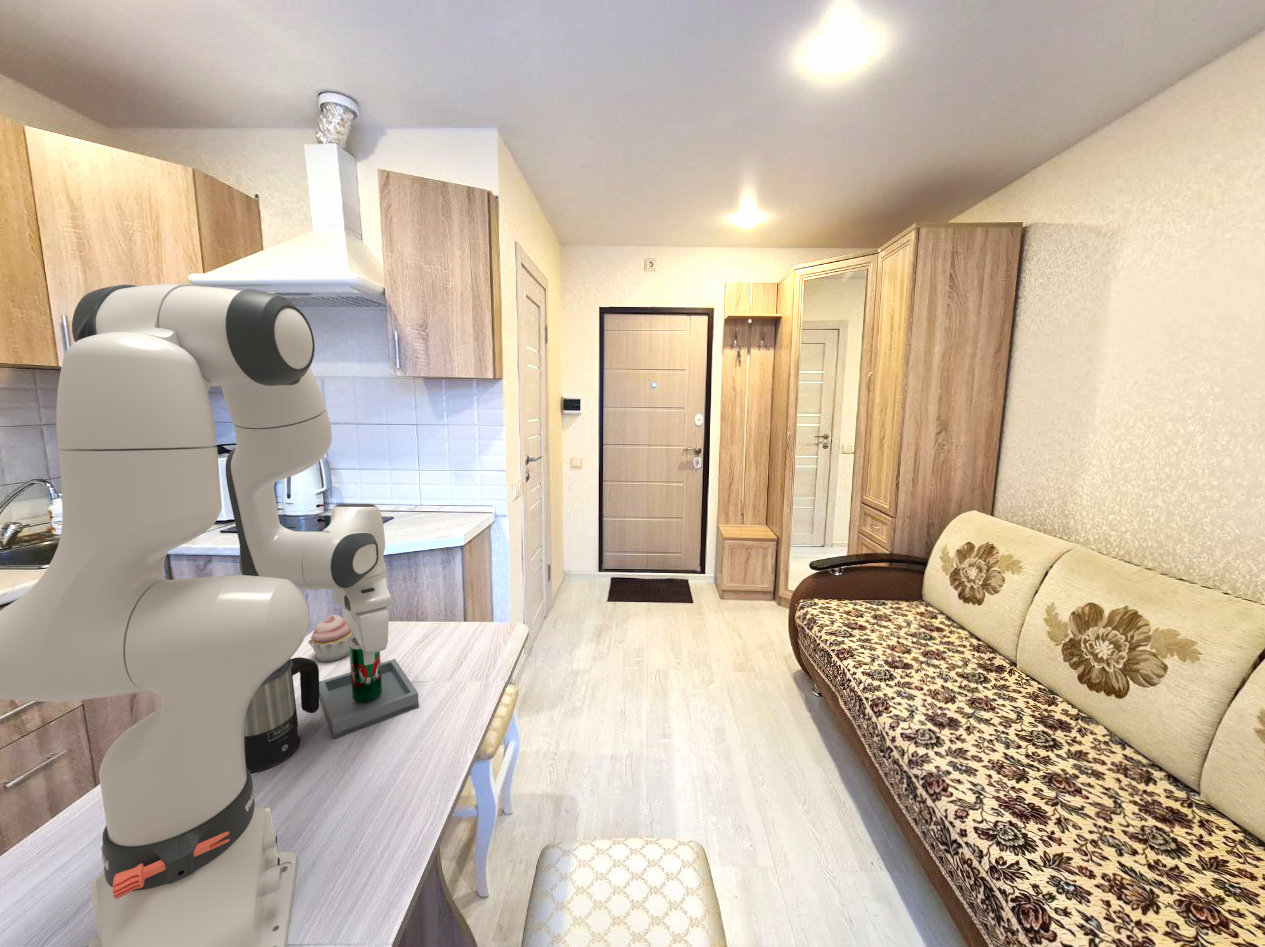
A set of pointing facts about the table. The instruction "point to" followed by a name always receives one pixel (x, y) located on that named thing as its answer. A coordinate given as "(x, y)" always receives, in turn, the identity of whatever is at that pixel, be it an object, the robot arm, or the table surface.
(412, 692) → the tray
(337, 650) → the cupcake
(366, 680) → the soda can
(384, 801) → the table surface
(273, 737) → the milk frother
